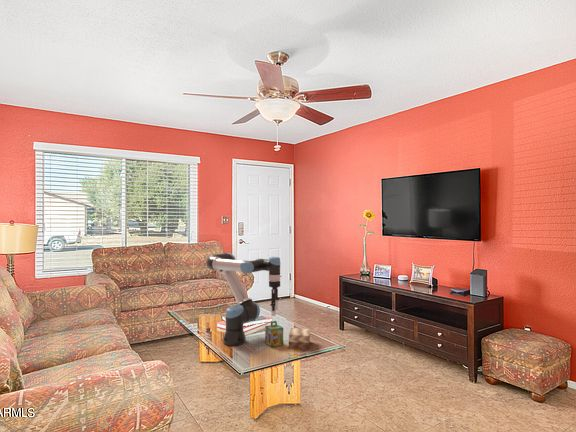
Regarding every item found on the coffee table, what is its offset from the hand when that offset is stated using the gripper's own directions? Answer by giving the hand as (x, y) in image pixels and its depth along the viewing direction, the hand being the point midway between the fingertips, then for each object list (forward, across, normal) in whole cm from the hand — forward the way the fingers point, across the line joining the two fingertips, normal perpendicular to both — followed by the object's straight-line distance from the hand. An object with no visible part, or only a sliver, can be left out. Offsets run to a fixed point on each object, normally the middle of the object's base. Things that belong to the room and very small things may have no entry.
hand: (274, 312), depth 233 cm
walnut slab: (+21, 0, -16) cm, 27 cm away
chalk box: (+21, 0, 0) cm, 21 cm away
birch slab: (+17, 0, -17) cm, 24 cm away
